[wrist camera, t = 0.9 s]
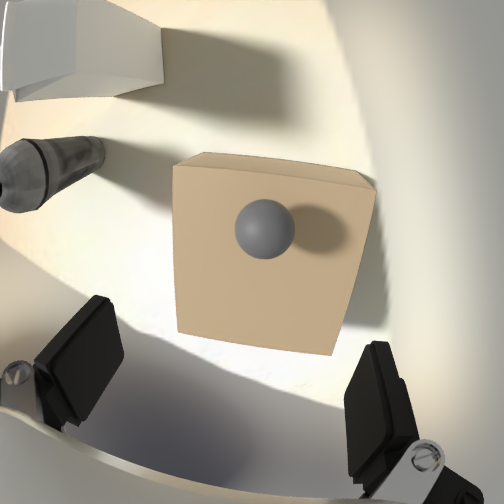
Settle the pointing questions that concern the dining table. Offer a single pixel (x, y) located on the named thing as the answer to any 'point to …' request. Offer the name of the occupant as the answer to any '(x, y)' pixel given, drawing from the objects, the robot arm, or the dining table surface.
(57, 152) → the beverage cup
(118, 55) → the milk carton
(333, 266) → the flap
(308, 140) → the dining table surface
